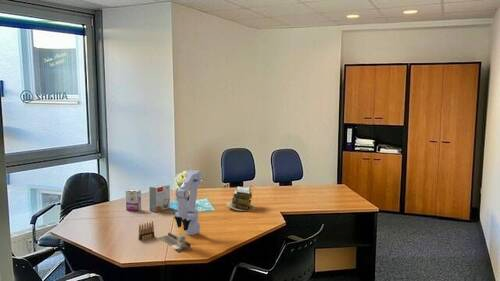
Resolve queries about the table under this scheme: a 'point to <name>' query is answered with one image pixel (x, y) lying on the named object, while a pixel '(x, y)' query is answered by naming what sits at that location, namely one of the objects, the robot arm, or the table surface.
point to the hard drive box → (159, 197)
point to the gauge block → (181, 240)
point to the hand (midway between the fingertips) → (182, 228)
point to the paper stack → (241, 200)
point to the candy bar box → (133, 200)
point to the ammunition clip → (146, 231)
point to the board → (174, 242)
